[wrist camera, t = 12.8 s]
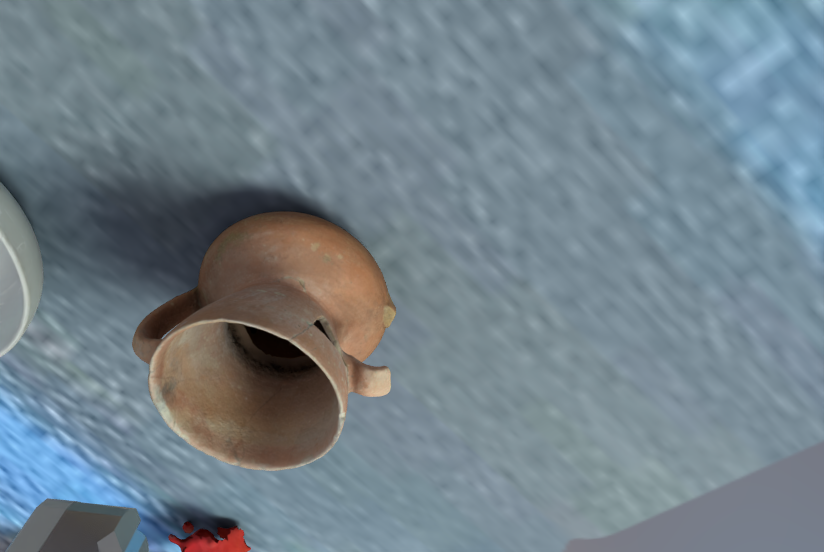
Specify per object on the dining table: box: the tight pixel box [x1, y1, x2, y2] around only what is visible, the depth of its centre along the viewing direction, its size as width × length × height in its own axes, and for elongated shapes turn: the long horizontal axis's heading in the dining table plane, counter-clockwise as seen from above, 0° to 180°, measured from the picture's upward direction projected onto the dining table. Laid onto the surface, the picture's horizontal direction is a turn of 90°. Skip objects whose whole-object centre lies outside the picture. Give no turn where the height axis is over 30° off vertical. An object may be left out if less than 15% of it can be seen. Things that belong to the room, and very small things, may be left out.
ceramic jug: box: [132, 211, 396, 471], centre depth 44 cm, size 18×14×14 cm
